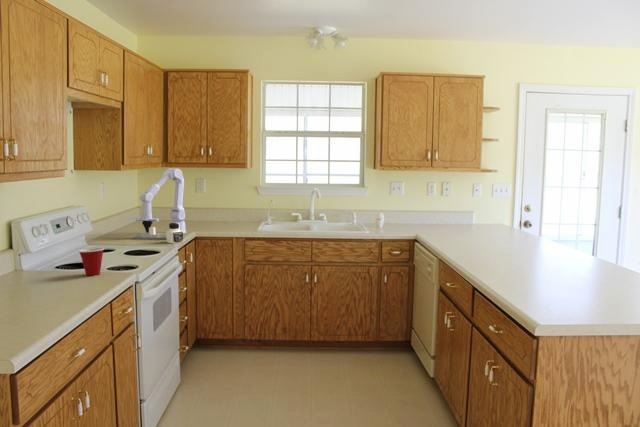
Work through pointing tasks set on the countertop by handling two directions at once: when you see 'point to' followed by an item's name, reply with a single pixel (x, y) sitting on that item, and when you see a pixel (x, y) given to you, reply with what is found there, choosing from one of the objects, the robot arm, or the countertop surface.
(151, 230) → the fader
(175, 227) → the medicine bottle
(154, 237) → the console
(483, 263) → the countertop surface
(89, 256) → the plastic cup
